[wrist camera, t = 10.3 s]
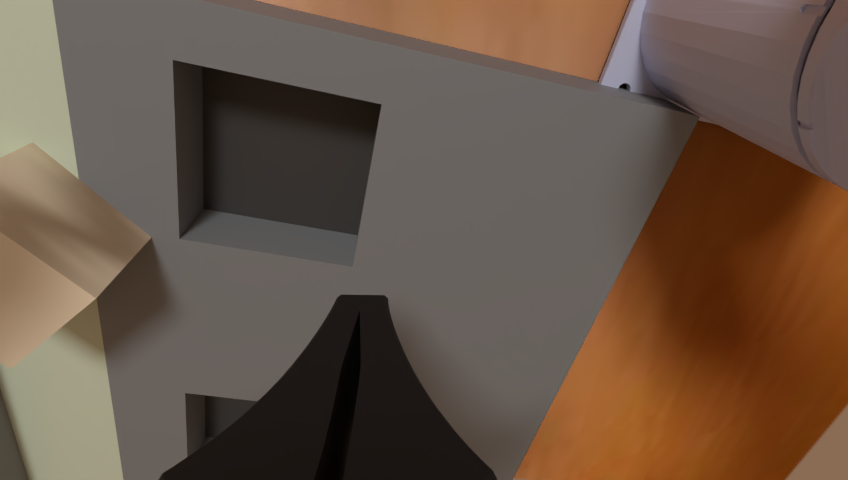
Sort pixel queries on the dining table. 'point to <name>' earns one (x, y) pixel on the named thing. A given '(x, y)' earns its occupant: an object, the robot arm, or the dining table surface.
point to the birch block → (53, 249)
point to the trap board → (312, 219)
